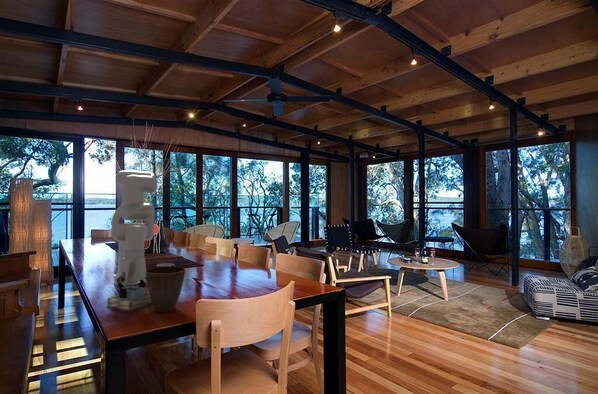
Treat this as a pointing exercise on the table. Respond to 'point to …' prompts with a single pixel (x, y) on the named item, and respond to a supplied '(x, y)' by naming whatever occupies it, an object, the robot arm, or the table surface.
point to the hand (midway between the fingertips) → (132, 295)
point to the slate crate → (134, 293)
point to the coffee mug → (164, 265)
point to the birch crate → (128, 303)
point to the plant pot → (165, 286)
